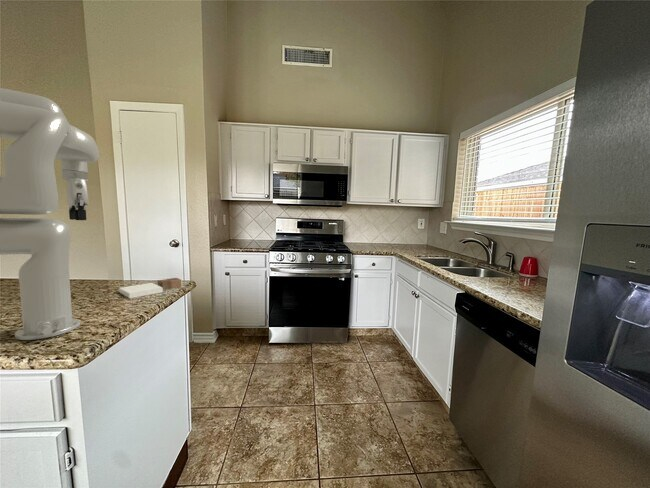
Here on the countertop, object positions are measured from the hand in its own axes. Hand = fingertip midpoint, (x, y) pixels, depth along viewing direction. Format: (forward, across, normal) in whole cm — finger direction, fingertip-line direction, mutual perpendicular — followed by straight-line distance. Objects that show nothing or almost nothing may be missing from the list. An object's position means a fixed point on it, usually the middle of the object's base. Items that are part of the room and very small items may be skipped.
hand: (77, 219), depth 104 cm
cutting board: (+30, -15, -16) cm, 37 cm away
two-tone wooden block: (+29, -15, -23) cm, 40 cm away
